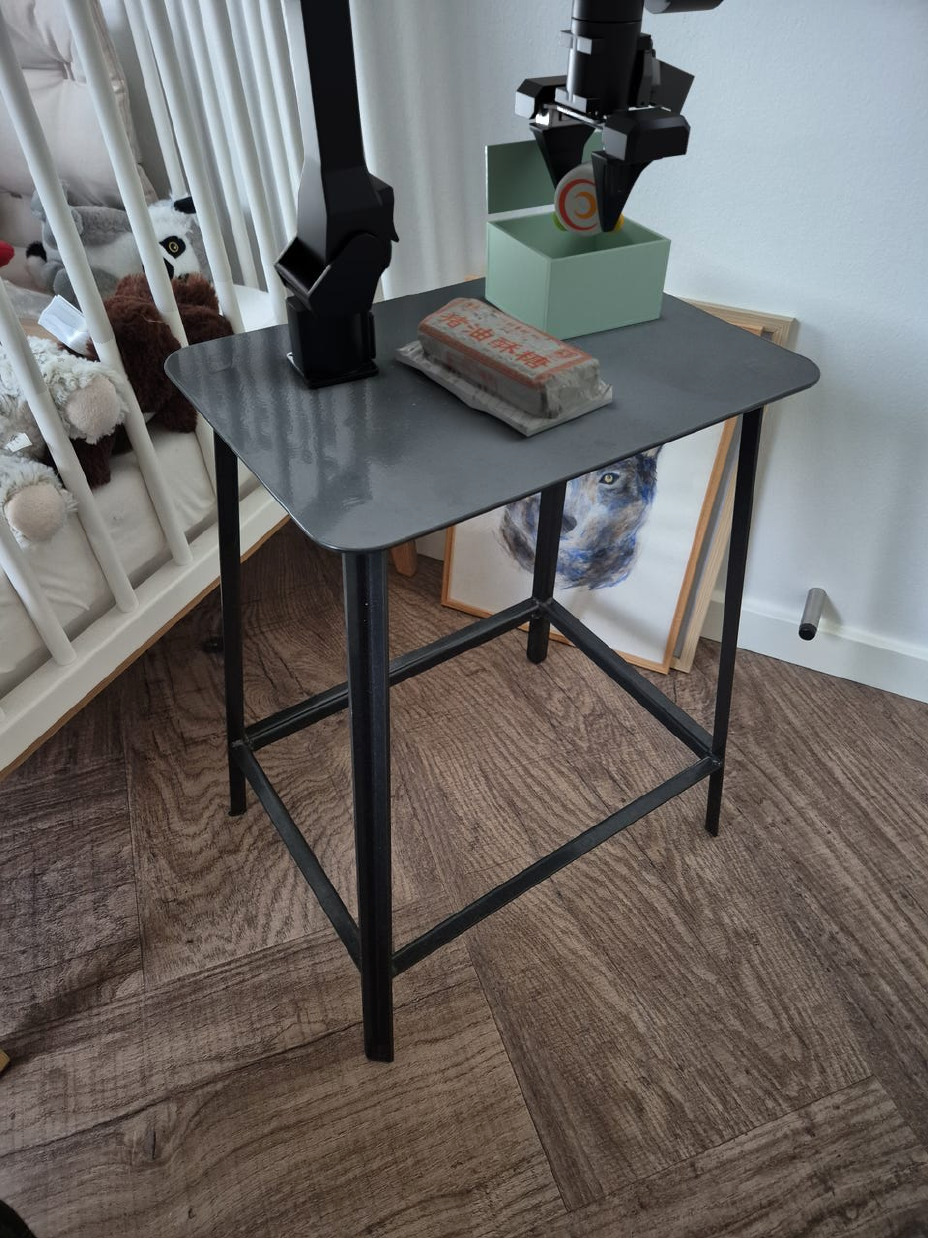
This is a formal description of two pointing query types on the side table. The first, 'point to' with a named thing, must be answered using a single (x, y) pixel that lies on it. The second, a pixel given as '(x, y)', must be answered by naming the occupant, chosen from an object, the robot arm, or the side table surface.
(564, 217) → the roller toy
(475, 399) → the packaged product
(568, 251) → the pale green hollow box
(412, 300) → the side table surface
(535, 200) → the green box lid
